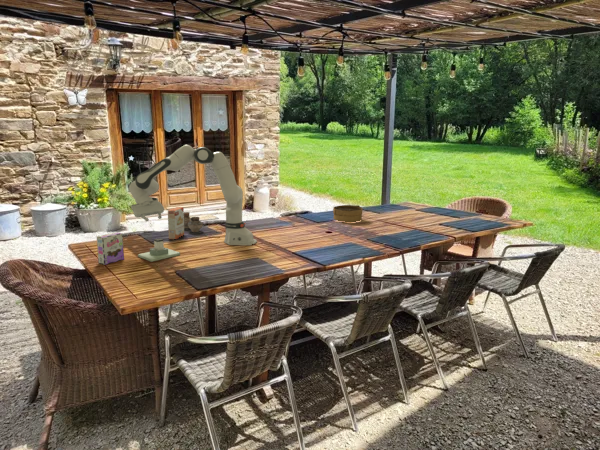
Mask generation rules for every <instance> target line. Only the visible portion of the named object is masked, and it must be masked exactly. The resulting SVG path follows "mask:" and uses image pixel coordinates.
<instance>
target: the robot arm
mask: <svg viewBox="0 0 600 450" xmlns="http://www.w3.org/2000/svg"><path fill="white" fill-rule="evenodd" d="M192 161H194V162H197V163H198V164H200V165H206V164H210V165H211V167H212V170H213V172H214V174H215V176H216V177H217V181H218V183H219V185H220V190H221V192H222V195H223V197H224V201H225V202H226V205H225V206H226V207H225V236H224V240H223V242H224V243H225V244H227V245H228V246H252V244H253V245H255V244H256V243H257V242H258V241H257V239H255V238H254V234H253V232H252V231H251V230H249V229H248V228H247V227H246V226H245V225H246V222H244V221H243V196H244V194H243V193H244V191H243V188H242V187H241V186H239V185H238V184H237V181H236V177H235V174H234V172H233V170H232V168H231V165H230V164H229V163H230V162H229V161H228V159H227V158H226V156H225V155H224V153H223V152H221V151H215V152H213V151H212V150H210V149H209V148H208V147H205V146H200V147H197V148H193V147H192V146H191V145H190V144H183V146H181V147H179V148H177V149H176V150H175V151H174V152H173V153H172V154H170V155H169V156H167V157H165V158H163V159H161V160H160V161H158V162H157V163H155V164H153V165H152V166H151V167H150V168H148V169H146V170H145V171H143V172H141V173H139V174H138V175H137V176H136V177H135V179H134V180H133V181H132V182H131V183H130V184H129V186H128V187H129V188H128V190H129V192H130V194H131V196H132V198H133V199H134V200H135V204H131V205H130V209H131V210H132V213H133V216H134V217H135V218H141V219H143V220H144V221H145V222H149V221H150V219H149V216H153V215H158V216H157V218H158V220H161V219H162V218H163V217H162V214H163V213H164V211H165V207H164V205H163V204H162V202H160V201H159V198H157V197H153V196H152V195H154V194H155V193H157V192H158V191H159V189H160V184H159V182H158V181H156V180H155V178H156V177H157V176H158V175H160V174H161V173H162V172H164V171H172V172H178V171H181V170H182V169H184V167H186V166H187V165H188V164H189V163H190V162H192Z"/></svg>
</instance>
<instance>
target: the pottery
mask: <svg viewBox="0 0 600 450" xmlns="http://www.w3.org/2000/svg"><path fill="white" fill-rule="evenodd" d="M203 225H204V223H203V221H201V220H200V217H199V216H190V212H189V211H188V212H187V211H185V212H184V229H190V230H191V232H192V233H198V232H200V229H202V227H203Z"/></svg>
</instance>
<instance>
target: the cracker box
mask: <svg viewBox="0 0 600 450" xmlns="http://www.w3.org/2000/svg"><path fill="white" fill-rule="evenodd" d="M167 226H168V230H167V232H168V239H169V240H174V239H176V240H178V239H180V238H182V237H184V236H185V228H184V207H181V206H180V207H179V206H175V207H173V208H171V209H168V210H167ZM183 235H184V236H183ZM181 236H182V237H181ZM179 237H180V238H179Z"/></svg>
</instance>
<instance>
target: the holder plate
mask: <svg viewBox="0 0 600 450" xmlns="http://www.w3.org/2000/svg"><path fill="white" fill-rule="evenodd" d="M178 256H181V252H179V251H176V250H173V249H171V248H168V247H164V249H162V250H158V251H157V250H155V249H154V247H153V248H149V251H146V252H143V253H139V254H138V255H137V257H138V258H140V259H144V260H146V261H148V262H151V263H152V262H157V261H160V260H164V259H168V258H172V257H178Z"/></svg>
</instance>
